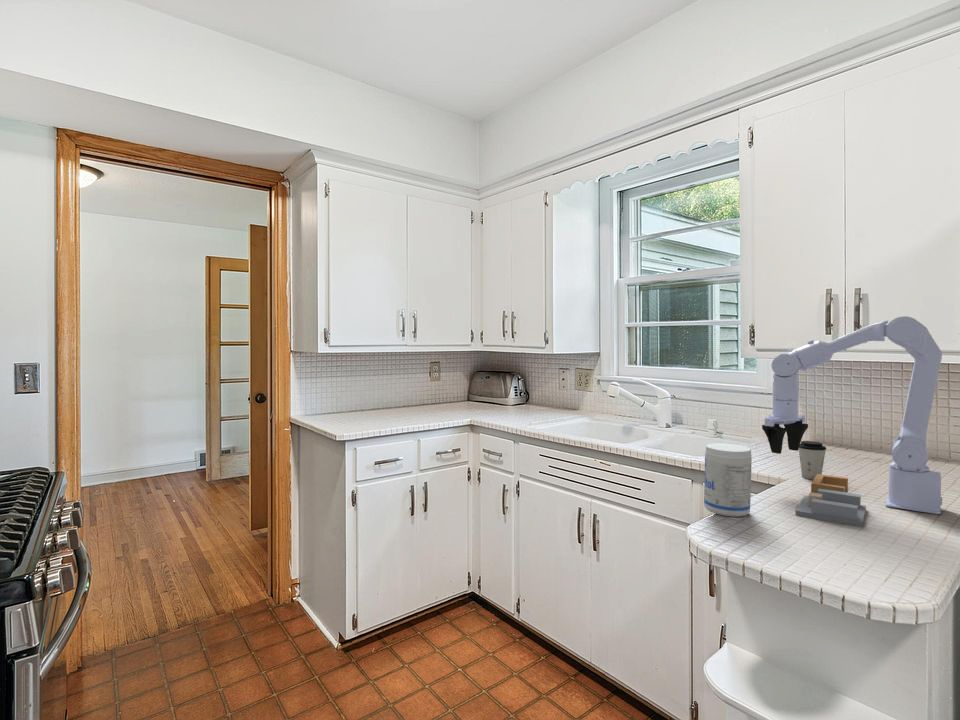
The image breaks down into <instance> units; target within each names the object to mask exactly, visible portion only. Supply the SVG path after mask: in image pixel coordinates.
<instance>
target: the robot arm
mask: <svg viewBox="0 0 960 720" xmlns="http://www.w3.org/2000/svg"><path fill="white" fill-rule="evenodd" d="M885 337H886V338H887V339H888V340H889V341H890V342H892V343H894V344H896V345H897V346H900V347H901V348H902V349H904V351H906V352H907V353H908V354H909V355H910V356H911V357H912V358H913V359H914V361H913V367H912V372H911V378H910V382H909V386H908V391H907V398H906V402H905V407H904V411H903V412H904V413H903V417H902V422H901V426H900V429H899V434H898V437H897V438H896V439H895V440H894V441H893V442H892V444H891V457H892V460H893V461H892V462H890V463H888V496H886V499H885V500H886V501H885V507H888V508H895V509H903V510H909V511H915V512H923V513H928V514H935V515H941V514H942V513H941V506H942V505H943V497H942V495H941V494H942V475H941V472H940V471H934V470H930V467H929V466H928V465H927V463H928V461H929V455H928V452H927V449H926V443H927V432H928V427H929V421H930V419H931V417H930V416H931V414H932V413H931V411H932V407H933V401H934V396H935V393H936V387H937V381H938V377H939V373H940V369H941V362H942V359H943V351H942V350H941V349H940V347H939V345H938V344H937V343H936V340H935V339H934V338H933V336H932V334H931V333H930V331H929V329H928V328H927V327H926V326H925V325H924V324H923V323H921V322H920V321H919V320H917V319H916V318H913V317H912V316H911V317H910V316H906V315H905V316H898V317H895V318H893V319H892V320H890V321H889V320H883V321H880V322H877V323H872V324H869V325H866V326H863V327H861V328H860V329H859V328H858V329H857V330H855V331H852V332H850V333H847V334H845V335H842V336H839V337H838V338H835V339H833V340H830V341H827V342H826V341H822V340H821V339H820V340H819V339H818V340H816V341H814V339H812V340H809V341H807V344H806V345H803V346H801V347H797V348H796V349H792V348H791V349H788V350H787V352H788V353H780V354H779V355H777V356H775V357H774V358H773V359H772V361H771V370H772V372H773V376H772V379H773V382H772V414H769V415H768V417H765V418H764V424H762V425H761V428H762V430H763V431H764V434H765V436H766V438H767V440H768V443H769V447H770V450H771V453H772V454H777V455H779V454H782V450H783V443H784V437H785V434H786V437H787V438H786V439H787V446H788V447H787V448H788V450H790V451H797V452H799V446H800V444H801V441H802V439H803V436H804V434H805V432H806V431H807V430H808V428H809V424H808V423H806V415H805V414H799V382H798V372H799V370H800V371H806V370H809V369H812V368H814V367H817V366H820V365H822V364H825V363H827V362H830V361H831V360H832V357H833V355H834V354H835V353H839V352H842V351H844V350H847V349H851V348H853V347H855V346H858V345H862V344H864V343H867V342H868V343H869V342H885V340H886V339H885ZM782 425H783V426H784V427H783V426H782Z"/></svg>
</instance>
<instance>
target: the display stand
mask: <svg viewBox="0 0 960 720" xmlns="http://www.w3.org/2000/svg"><path fill="white" fill-rule="evenodd" d="M861 495H862V494H858V493H852V492H848V493H847V492H840V491H833V490H826V489H818V493H812V492H811V491H810V492H809V493H808V496H806V495H804V496H803V497H802V499H801V501H800V502H799V504H798V505H797V507H796V508H795V516H799V517H804V518H811V519H816V520H817V519H818V520H820V521H821V520H822V521H828V522H835V523H840V524H845V525H852V526H854V527H855V526H856V527H861V528H863V527H864V522H865V516H866V512H867V511H866V510H867V505H864V504H861V500H862V499H861V497H862V496H861Z"/></svg>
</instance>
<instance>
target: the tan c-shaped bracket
mask: <svg viewBox="0 0 960 720" xmlns="http://www.w3.org/2000/svg"><path fill="white" fill-rule="evenodd" d="M810 486H811V487H810V492H812V493H818V489H826V490H833V491H840V492H847V493H849V477H844V476H837V475H836V476H835V475H828V474H823V473H822V474H817V475H816V477H815V478H814V479H812V482H811V485H810Z"/></svg>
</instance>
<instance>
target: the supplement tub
mask: <svg viewBox="0 0 960 720" xmlns="http://www.w3.org/2000/svg"><path fill="white" fill-rule="evenodd" d="M752 456H753V455H752V449H751V448H750V447H748V446H745V445H740V444H736V443H735V444H734V443H723V442H720V443H719V442H718V443H716V442H715V443H709V444H706V445H705V453H704V478H703V481H704V482H703V483H704V484H703V485H704V486H703V487H704V488H703V489H704V491H703V493H704V494H703V505H704V508H705V509H706V510H707V511H708V512H710V513H713V514H716V515H719V516H724V517H734V518H735V517H736V518H737V517H745V516H748V515H749V514H750V512H751V494H752V493H751V492H752V491H751V490H752V464H753V463H752V460H753V457H752Z"/></svg>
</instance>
